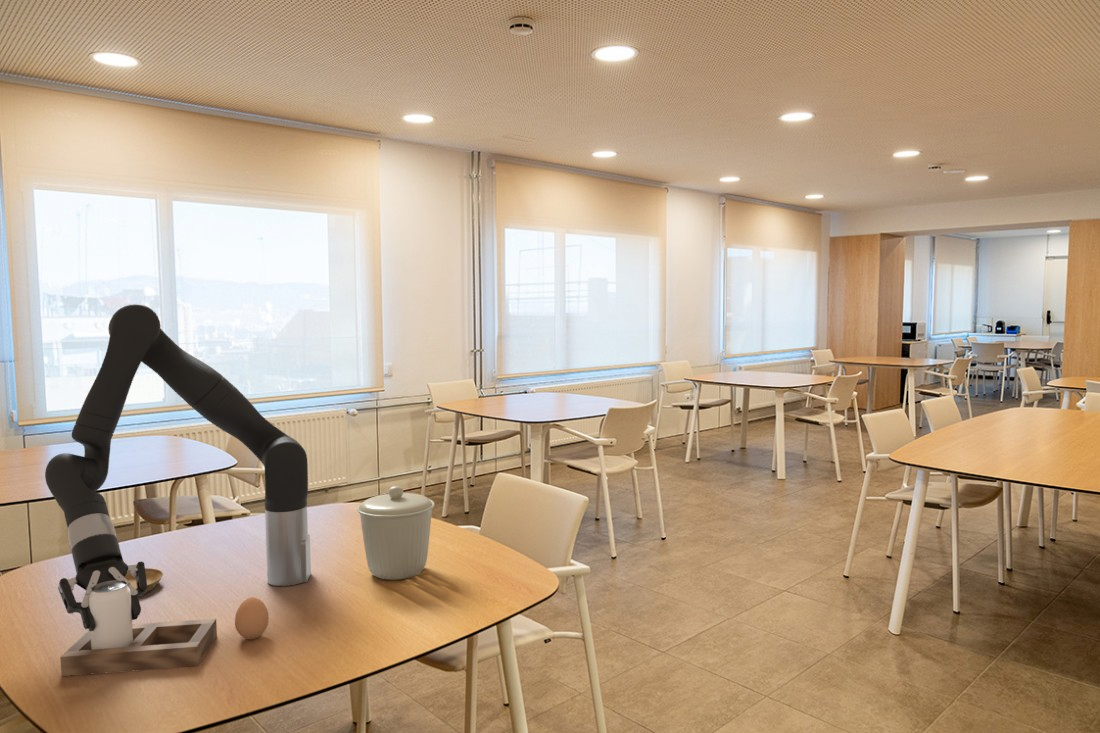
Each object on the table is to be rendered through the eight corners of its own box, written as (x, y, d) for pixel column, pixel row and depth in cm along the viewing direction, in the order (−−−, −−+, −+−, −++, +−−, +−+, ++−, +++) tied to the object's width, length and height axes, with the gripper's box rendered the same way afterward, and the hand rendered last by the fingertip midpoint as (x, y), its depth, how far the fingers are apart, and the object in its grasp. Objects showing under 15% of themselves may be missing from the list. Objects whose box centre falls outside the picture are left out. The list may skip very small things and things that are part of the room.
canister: (381, 593, 162) (379, 499, 161) (345, 571, 176) (342, 485, 174) (450, 573, 174) (448, 486, 173) (411, 555, 188) (409, 474, 186)
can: (103, 662, 128) (99, 595, 127) (84, 652, 132) (81, 587, 131) (140, 647, 134) (137, 583, 133) (121, 639, 137) (118, 576, 136)
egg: (258, 646, 137) (256, 605, 136) (229, 643, 138) (227, 603, 137) (275, 632, 143) (274, 592, 142) (247, 630, 144) (245, 591, 143)
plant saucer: (131, 605, 157) (130, 594, 157) (72, 601, 159) (71, 589, 159) (178, 580, 171) (177, 569, 171) (123, 577, 174) (122, 566, 174)
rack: (216, 636, 141) (216, 618, 141) (197, 665, 129) (196, 646, 129) (93, 645, 138) (92, 627, 137) (61, 676, 126) (60, 656, 125)
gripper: (51, 541, 131) (70, 625, 124) (139, 525, 141) (162, 601, 134) (46, 563, 136) (64, 645, 128) (133, 545, 146) (154, 621, 138)
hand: (114, 622), depth 131 cm, fingers closed on can, 6 cm apart
